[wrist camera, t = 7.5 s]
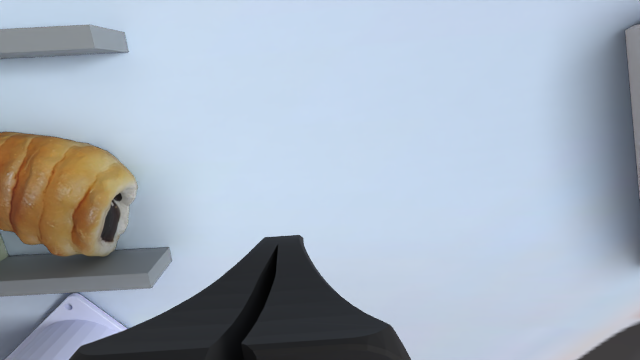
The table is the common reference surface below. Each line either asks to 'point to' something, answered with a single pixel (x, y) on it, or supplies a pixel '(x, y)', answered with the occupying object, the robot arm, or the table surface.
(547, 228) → the table surface
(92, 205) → the pastry
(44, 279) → the chute dock
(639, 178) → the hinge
